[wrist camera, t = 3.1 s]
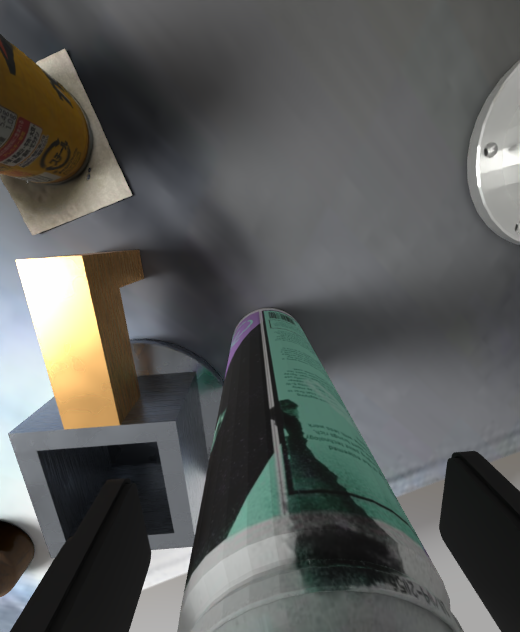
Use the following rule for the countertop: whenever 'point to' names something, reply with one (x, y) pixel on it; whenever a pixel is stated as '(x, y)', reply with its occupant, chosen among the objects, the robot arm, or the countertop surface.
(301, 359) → the spray can
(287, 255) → the countertop surface
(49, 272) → the grey square saucepan
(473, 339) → the countertop surface
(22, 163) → the condiment
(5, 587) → the brown wooden tall piece
